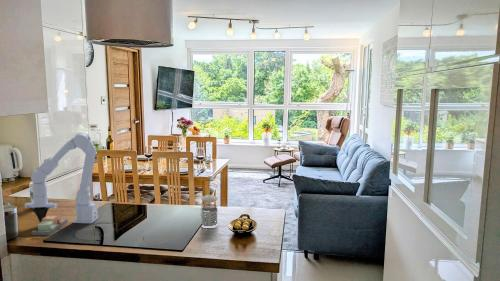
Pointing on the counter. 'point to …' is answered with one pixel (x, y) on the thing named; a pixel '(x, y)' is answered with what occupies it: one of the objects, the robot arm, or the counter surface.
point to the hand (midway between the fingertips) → (42, 222)
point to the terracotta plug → (50, 219)
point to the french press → (209, 209)
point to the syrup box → (31, 192)
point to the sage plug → (45, 225)
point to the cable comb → (51, 228)
